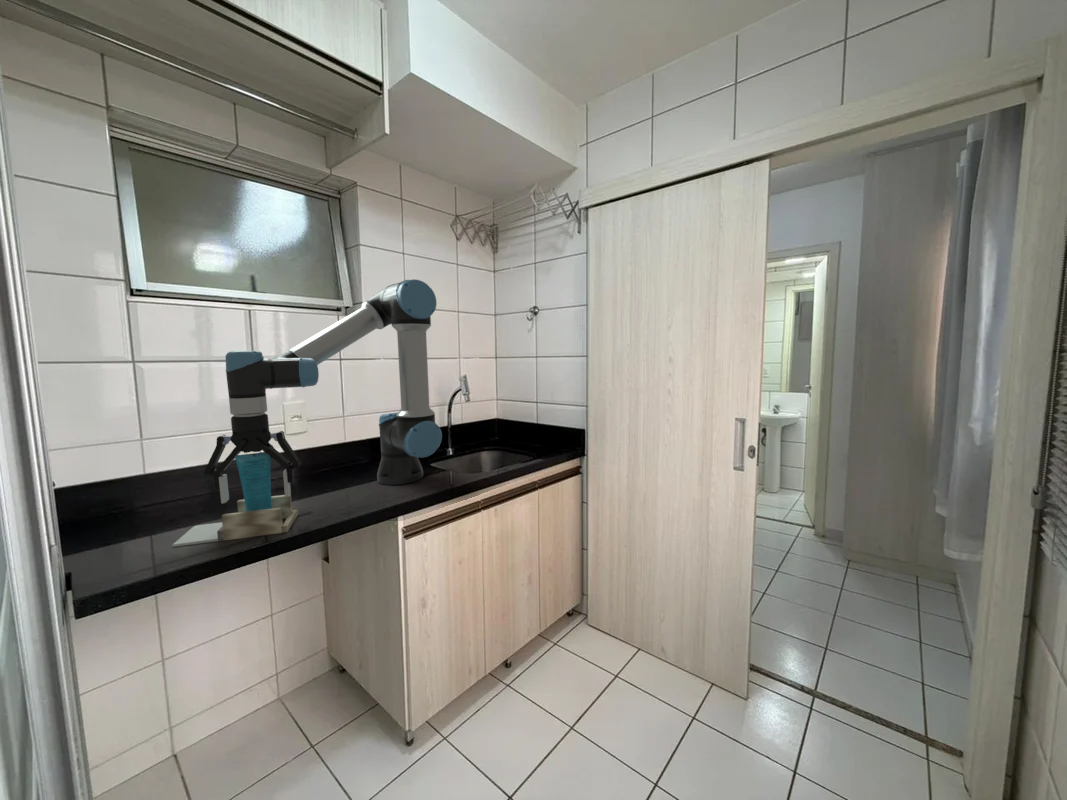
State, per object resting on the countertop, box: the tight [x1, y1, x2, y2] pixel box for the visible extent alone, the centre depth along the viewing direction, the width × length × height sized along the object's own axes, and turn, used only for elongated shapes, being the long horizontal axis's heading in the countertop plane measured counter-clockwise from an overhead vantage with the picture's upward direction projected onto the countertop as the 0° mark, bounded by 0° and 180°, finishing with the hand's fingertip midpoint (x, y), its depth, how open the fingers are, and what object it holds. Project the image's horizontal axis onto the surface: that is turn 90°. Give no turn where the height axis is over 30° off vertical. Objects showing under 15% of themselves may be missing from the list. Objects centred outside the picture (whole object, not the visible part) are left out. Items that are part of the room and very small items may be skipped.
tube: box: [234, 451, 272, 511], centre depth 104 cm, size 7×5×19 cm, turn 133°
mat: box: [172, 521, 223, 548], centre depth 102 cm, size 9×11×1 cm
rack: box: [217, 493, 299, 542], centre depth 105 cm, size 14×11×6 cm
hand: (257, 498), depth 104 cm, fingers open, 13 cm apart
